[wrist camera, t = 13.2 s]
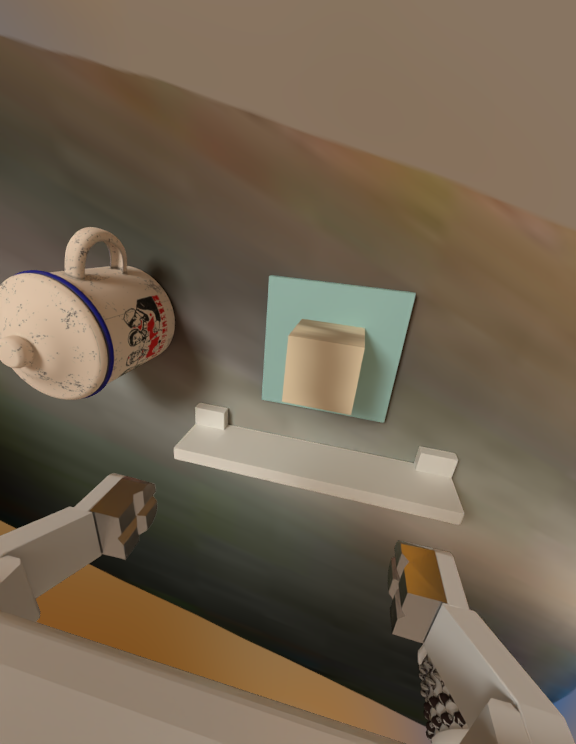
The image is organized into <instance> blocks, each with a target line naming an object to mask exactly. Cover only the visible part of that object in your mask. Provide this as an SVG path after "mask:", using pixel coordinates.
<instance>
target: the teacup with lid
mask: <svg viewBox="0 0 576 744" xmlns="http://www.w3.org/2000/svg"><path fill="white" fill-rule="evenodd" d="M100 241H103V242H104V243H105V244H106V245H107V247H108V249H109V252H110V266H108V267H98V268H89V269H85V261H86V257H87V254H88V252H89V250H90V248H91V247H92V246H93V245H94V244H95V243H97V242H100ZM174 330H175V317H174V312H173V308H172V305H171V302H170V300H169V298H168V296H167V294H166V293H165V291H164V290H163V288H162V287H161V286H160V285H159V283H158V282H157V281H156V280H155V279H153V278H152V277H151V276H150V275H148V274H147V273H145V272H143V271H142V270H139V269H137V268H134V267H131V266H127V257H126V252H125V249H124V247H123V245H122V243H121V242H120V240H119V239H118V238H117V237H115V236H114V235H113V234H111V233H109V232H107V231H105V230H102V229H99V228H95V227H87V228H83V229H81V230H79V231H77V232H76V233H75V234H74V235H73V237H72V238H71V239H70V241H69V243H68V245H67V248H66V253H65V271H60V272H50V273H49V272H45V271H38V270H30V271H23V272H20V273H17V274H15V275H13V276H12V277H10V278H8V279H6V280H5V281H4V282H3V283H2V284H1V285H0V360H1V361H2V362H3V363H4V364H5V365H7V366H9V367H11V368H12V369H13V370H14V371H15V372H16V373H17V374H18V375H19V376H20V377H21V378H22V379H23V380H24V381H25V382H27V383H28V384H29V385H31V386H32V387H33V388H35V389H37V390H38V391H40V392H42V393H44V394H46V395H49V396H52V397H55V398H59V399H67V400H75V399H82V398H87V397H90V396H93V395H95V394H97V393H98V392H100V391H101V390H102V389H103V388H104V387H105V386H106V384H108V383H109V382H111V381H113V380H115V379H116V378H118V377H120V376H122V375H124V374H125V373H127V372H129V371H131V370H133V369H134V368H136V367H138V366H140V365H142V364H143V363H145V362H147V361H149V360H151V359H152V358H154V357H156V356H158V355H160V354H161V353H162V352H163V351H164V350H166V348H167V347H168V346H169V344H170V342H171V340H172V338H173V335H174Z"/></svg>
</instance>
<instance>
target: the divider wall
mask: <svg viewBox="0 0 576 744" xmlns="http://www.w3.org/2000/svg"><path fill="white" fill-rule="evenodd" d="M195 419H196V424H195V425H194V426H193V427H192V428H191V429H190V431H189V432H188V433H187V434H186V435H185V436H184V437H183V438H182V439H181V440H180V441H179V442H178V444H177V445H176V446H175V447H174V459H178V460H182V461H187V462H191V463H195V464H199V465H204V466H208V467H212V468H217V469H221V470H225V471H229V472H234V473H238V474H242V475H246V476H251V477H255V478H259V479H264V480H268V481H272V482H276V483H281V484H285V485H289V486H293V487H298V488H302V489H306V490H311V491H315V492H319V493H323V494H328V495H332V496H336V497H340V498H345V499H349V500H353V501H358V502H362V503H366V504H370V505H375V506H379V507H383V508H387V509H392V510H396V511H400V512H404V513H409V514H413V515H417V516H422V517H426V518H430V519H434V520H439V521H443V522H447V523H451V524H456V525H460V523H461V521H462V519H463V516H464V511H463V508H462V506H461V503H460V500H459V497H458V494H457V492H456V489H455V486H454V483H453V481H452V475H453V473H454V470H455V467H456V465H457V462H458V459H457V456H456V454H455V453H452V452H447V451H442V450H437V449H432V448H426V447H421V446H419V448H418V452H417V455H416V458H415V461H414V463H411V462H406V461H401V460H396V459H392V458H387V457H382V456H377V455H372V454H368V453H363V452H358V451H353V450H348V449H344V448H339V447H334V446H329V445H324V444H319V443H315V442H310V441H305V440H300V439H295V438H291V437H286V436H281V435H276V434H271V433H267V432H262V431H257V430H252V429H247V428H242V427H238V426H233V425H228V408H225V407H220V406H215V405H210V404H205V403H199V404H198V405H197V406H196V407H195Z"/></svg>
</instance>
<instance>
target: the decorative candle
mask: <svg viewBox="0 0 576 744" xmlns="http://www.w3.org/2000/svg"><path fill="white" fill-rule="evenodd" d="M423 645H424V644H423ZM423 645H422V646H421V647H420V649H419V650H418V663H419V670H420V671H421V672H420V673H419V677H420V678H421V679H422V680H423V681H421V687H422V689H421V694H422V696H423V697H424V698H425V701H426V702H425V703H424V709H425V710H424V716H425V718H426V719H428V721H429V722H427V723H426V728H427V731H426V735H427V738H428V739H430V740H431V743H432V744H459V743H460V742H461V741H462V739H463V738H464V736H465V735H466V733H467V732H468V730H469V727H468V725H467V724H466V722H465V720H464V718H463V716H462V715H461V713H460V711H459V709H458V707H457V706H456V704H455V702H454V700H453V698H452V697H451V695H450V693H449V691H448V689H447V687H446V686H445V684H444V682H443V680H442V678H441V677H440V675H439V673H438V671H437V669H436V668H435V666H434V664H433V662H432V660H431V659H430V657H429V655H428V653H427V651H426V650H425V648H424V646H423ZM427 695H428V696H427Z"/></svg>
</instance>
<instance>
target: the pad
mask: <svg viewBox="0 0 576 744" xmlns="http://www.w3.org/2000/svg"><path fill="white" fill-rule="evenodd" d="M415 295H416V293H415V292H407V291H398V290H390V289H382V288H373V287H365V286H357V285H349V284H340V283H332V282H324V281H315V280H307V279H299V278H291V277H282V276H274V275H271V276H269V290H268V306H267V322H266V338H265V354H264V370H263V387H262V400H267V401H272V402H277V403H283V404H288V405H293V406H298V407H304V408H309V409H314V410H319V411H325V412H330V413H335V414H340V415H346V416H351V417H356V418H361V419H367V420H372V421H377V422H382V423H384V421H385V416H386V412H387V408H388V404H389V400H390V396H391V392H392V388H393V384H394V380H395V376H396V372H397V368H398V364H399V360H400V356H401V352H402V348H403V344H404V340H405V336H406V332H407V328H408V323H409V319H410V315H411V311H412V307H413V303H414V299H415ZM301 319H308V320H314V321H321V322H328V323H335V324H341V325H348V326H355V327H362V328H365V349H364V354H363V359H362V364H361V369H360V374H359V379H358V384H357V389H356V394H355V399H354V404H353V408H352V413H351V415H348V414H343V413H337V412H332V411H327V410H322V409H317V408H312V407H307V406H301V405H296V404H291V403H286V402H282V395H283V385H284V374H285V364H286V354H287V344H288V335H289V334H290V333H291V332H292V330H293V329H294V328H295V327H296V325H297V324H298V323H299V322H300V320H301Z"/></svg>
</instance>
